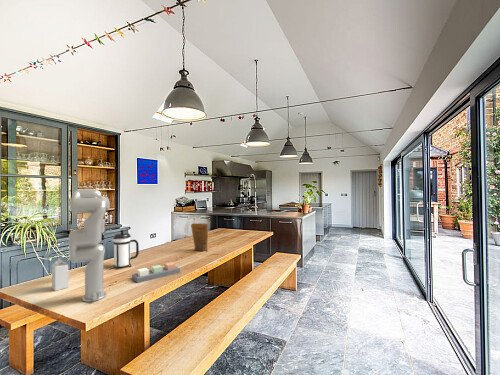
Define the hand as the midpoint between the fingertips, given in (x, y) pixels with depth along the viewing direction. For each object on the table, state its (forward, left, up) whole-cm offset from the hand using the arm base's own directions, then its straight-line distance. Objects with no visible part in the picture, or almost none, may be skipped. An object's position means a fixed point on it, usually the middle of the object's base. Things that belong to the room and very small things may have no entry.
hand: (96, 241), depth 184 cm
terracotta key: (-23, -44, -25) cm, 56 cm away
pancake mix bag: (+18, -94, -27) cm, 100 cm away
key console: (-23, -34, -27) cm, 49 cm away
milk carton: (-4, +22, -27) cm, 35 cm away
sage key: (-23, -34, -25) cm, 48 cm away
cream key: (-23, -24, -25) cm, 42 cm away
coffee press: (+17, -22, -27) cm, 38 cm away
